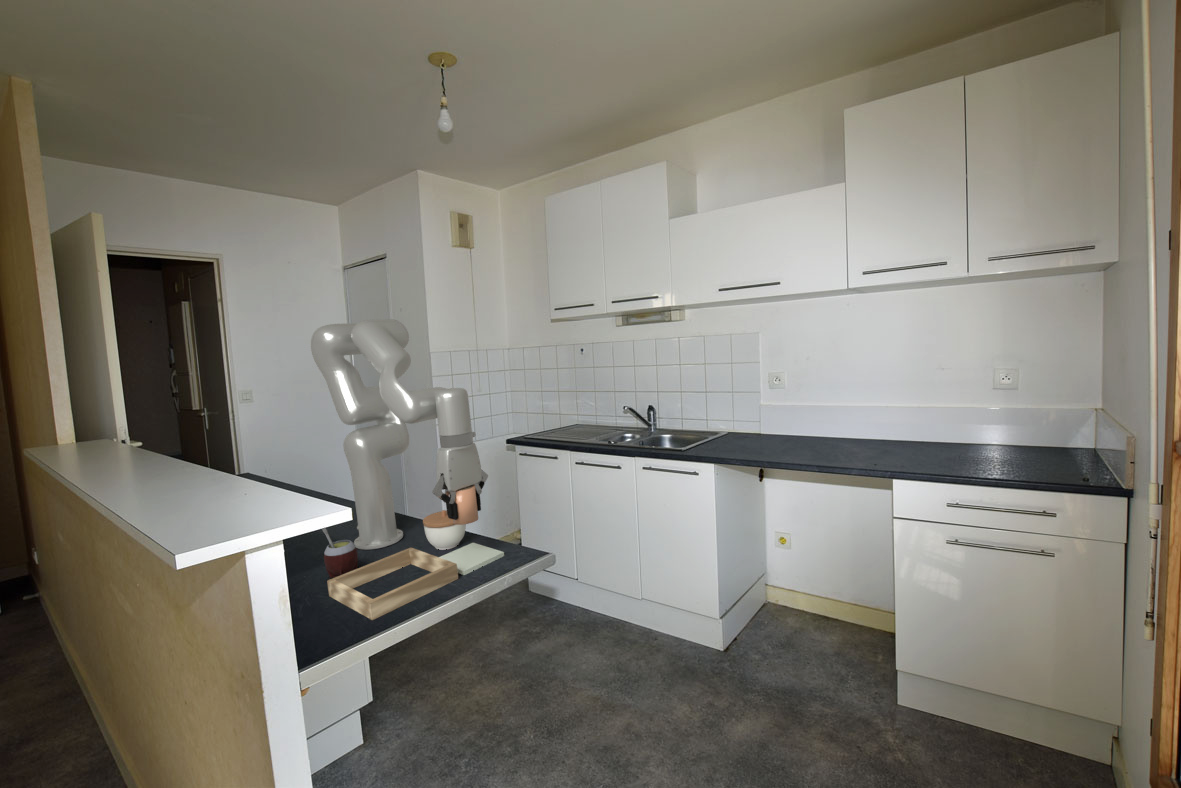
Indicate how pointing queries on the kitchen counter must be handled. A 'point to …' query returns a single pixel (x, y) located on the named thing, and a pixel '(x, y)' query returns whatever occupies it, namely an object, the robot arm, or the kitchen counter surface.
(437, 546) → the lidded jar
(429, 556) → the frame
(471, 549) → the sage tile
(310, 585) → the kitchen counter surface
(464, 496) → the terracotta pot
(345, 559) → the mate gourd
